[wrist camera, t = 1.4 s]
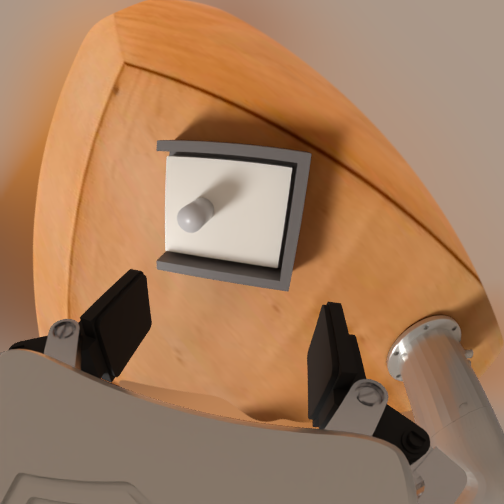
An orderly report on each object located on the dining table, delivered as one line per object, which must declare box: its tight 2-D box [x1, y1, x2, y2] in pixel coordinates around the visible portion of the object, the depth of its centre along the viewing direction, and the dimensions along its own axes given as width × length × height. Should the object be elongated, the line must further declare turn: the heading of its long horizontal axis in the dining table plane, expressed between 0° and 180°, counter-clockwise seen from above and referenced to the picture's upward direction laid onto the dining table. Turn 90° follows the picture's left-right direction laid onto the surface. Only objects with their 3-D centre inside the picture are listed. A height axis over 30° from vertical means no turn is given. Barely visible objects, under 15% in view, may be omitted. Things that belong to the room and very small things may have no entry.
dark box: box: [157, 140, 311, 291], centre depth 26 cm, size 14×13×4 cm
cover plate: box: [165, 155, 292, 268], centre depth 25 cm, size 12×10×5 cm
